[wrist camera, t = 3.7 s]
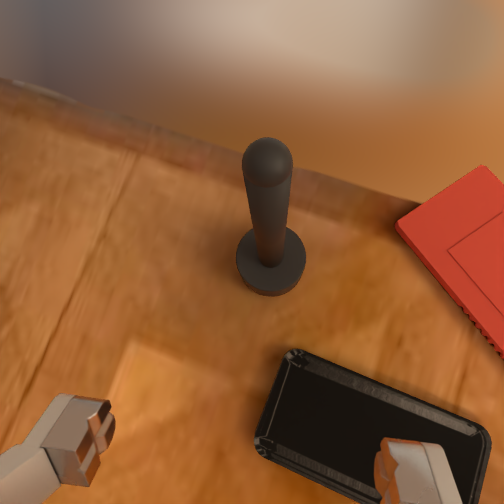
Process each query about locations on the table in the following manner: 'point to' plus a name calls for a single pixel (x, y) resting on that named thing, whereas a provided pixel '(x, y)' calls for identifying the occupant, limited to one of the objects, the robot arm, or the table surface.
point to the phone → (358, 428)
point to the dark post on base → (269, 221)
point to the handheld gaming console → (465, 247)
